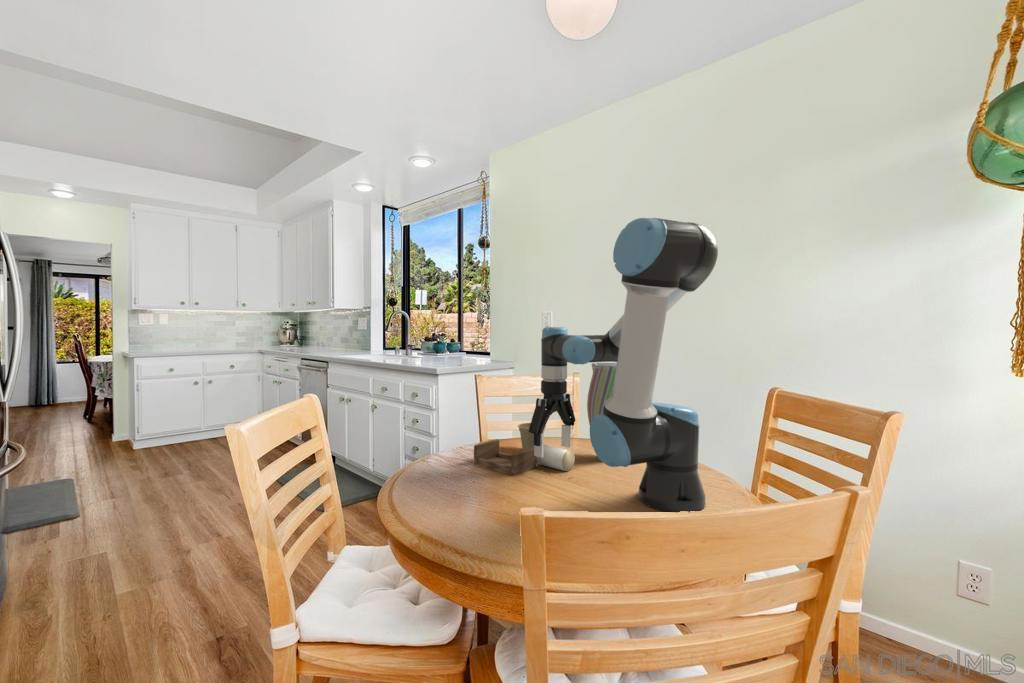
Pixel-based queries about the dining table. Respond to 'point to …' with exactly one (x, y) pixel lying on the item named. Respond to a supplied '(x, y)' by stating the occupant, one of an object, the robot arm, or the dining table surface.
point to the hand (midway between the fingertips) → (552, 451)
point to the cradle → (503, 459)
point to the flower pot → (526, 436)
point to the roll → (557, 458)
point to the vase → (600, 388)
